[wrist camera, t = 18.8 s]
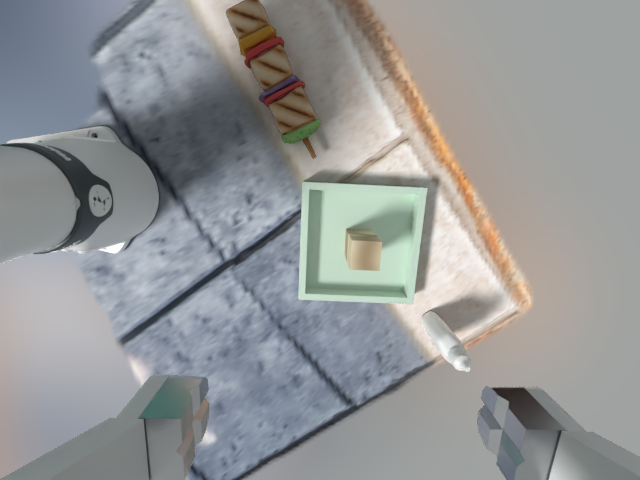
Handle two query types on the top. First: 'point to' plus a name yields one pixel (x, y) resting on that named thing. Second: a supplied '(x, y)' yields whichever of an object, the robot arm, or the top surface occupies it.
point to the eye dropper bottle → (446, 341)
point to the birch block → (362, 250)
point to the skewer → (273, 72)
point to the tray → (361, 214)
